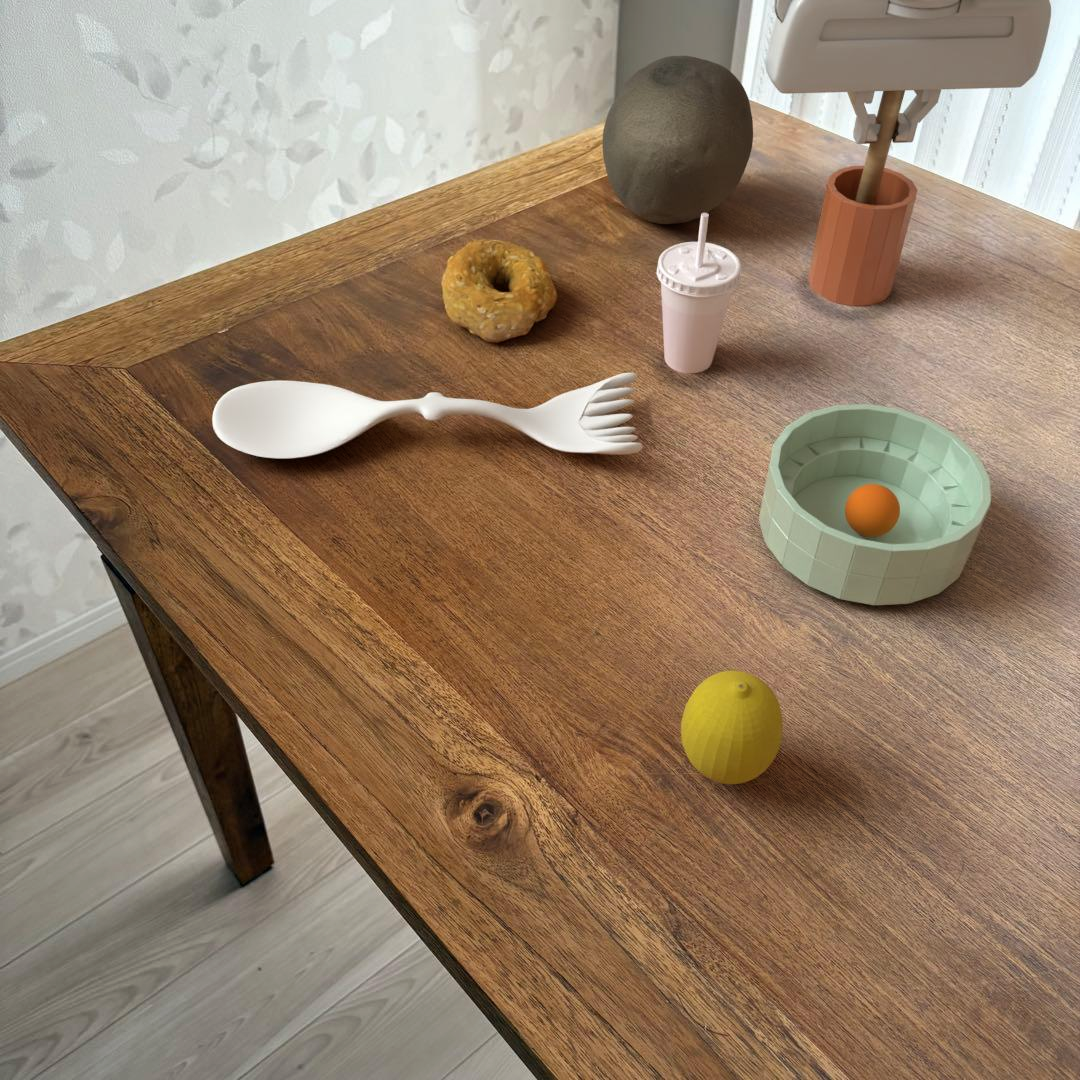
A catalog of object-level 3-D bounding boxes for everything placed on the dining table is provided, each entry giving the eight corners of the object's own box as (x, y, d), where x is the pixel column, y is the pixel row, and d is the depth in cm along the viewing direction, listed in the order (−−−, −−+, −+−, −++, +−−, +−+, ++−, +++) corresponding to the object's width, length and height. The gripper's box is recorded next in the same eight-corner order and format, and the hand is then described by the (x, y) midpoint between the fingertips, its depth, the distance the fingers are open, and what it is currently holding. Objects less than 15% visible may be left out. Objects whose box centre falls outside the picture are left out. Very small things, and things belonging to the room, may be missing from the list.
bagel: (440, 348, 93) (436, 300, 89) (445, 275, 100) (442, 228, 97) (559, 347, 93) (559, 298, 89) (555, 274, 100) (555, 226, 97)
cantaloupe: (566, 214, 108) (569, 59, 97) (670, 169, 114) (684, 18, 103) (669, 277, 100) (685, 116, 89) (774, 224, 106) (801, 68, 96)
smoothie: (641, 383, 89) (655, 227, 79) (655, 338, 94) (669, 184, 84) (721, 395, 88) (744, 239, 78) (731, 348, 93) (754, 194, 83)
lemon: (655, 767, 65) (667, 685, 59) (716, 712, 67) (732, 628, 61) (730, 828, 62) (750, 748, 56) (790, 768, 64) (815, 685, 59)
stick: (860, 252, 98) (921, 24, 82) (859, 262, 97) (921, 34, 81) (841, 249, 98) (899, 22, 83) (841, 260, 97) (899, 32, 82)
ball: (868, 503, 79) (897, 473, 76) (888, 545, 77) (919, 516, 74) (827, 504, 77) (855, 473, 74) (846, 547, 75) (876, 518, 73)
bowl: (928, 462, 83) (950, 399, 78) (995, 607, 73) (1024, 544, 69) (740, 471, 82) (751, 408, 78) (782, 618, 72) (797, 555, 68)
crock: (876, 266, 101) (902, 163, 94) (899, 312, 96) (928, 207, 89) (798, 269, 101) (818, 166, 94) (817, 315, 96) (840, 210, 89)
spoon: (640, 478, 82) (643, 443, 79) (206, 473, 82) (196, 438, 79) (635, 401, 88) (638, 366, 85) (232, 396, 88) (223, 361, 86)
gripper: (791, -27, 76) (761, 163, 86) (1082, -33, 77) (1019, 155, 87) (772, -59, 80) (745, 125, 90) (1047, -64, 81) (991, 118, 91)
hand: (882, 140), depth 89 cm, fingers closed on stick, 1 cm apart
